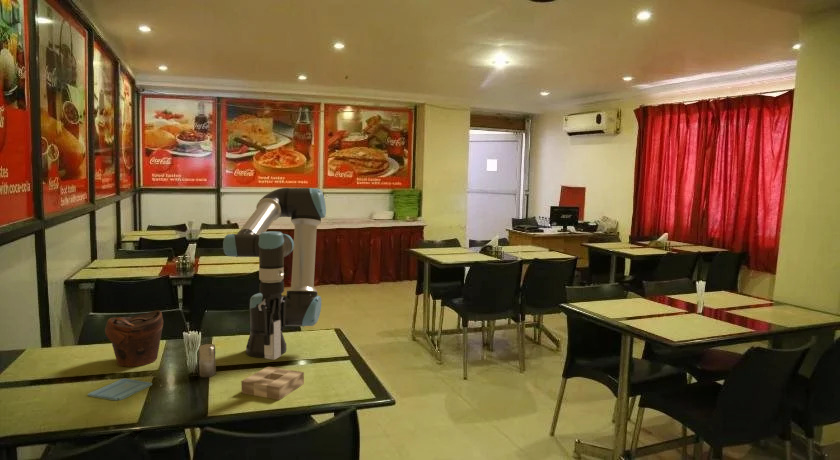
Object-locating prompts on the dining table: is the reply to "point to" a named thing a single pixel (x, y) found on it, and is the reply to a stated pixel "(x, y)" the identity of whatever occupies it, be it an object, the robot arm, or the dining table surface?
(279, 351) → the square bit
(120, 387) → the blue flat panel
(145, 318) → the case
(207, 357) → the round bit
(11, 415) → the dining table surface
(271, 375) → the socket block
